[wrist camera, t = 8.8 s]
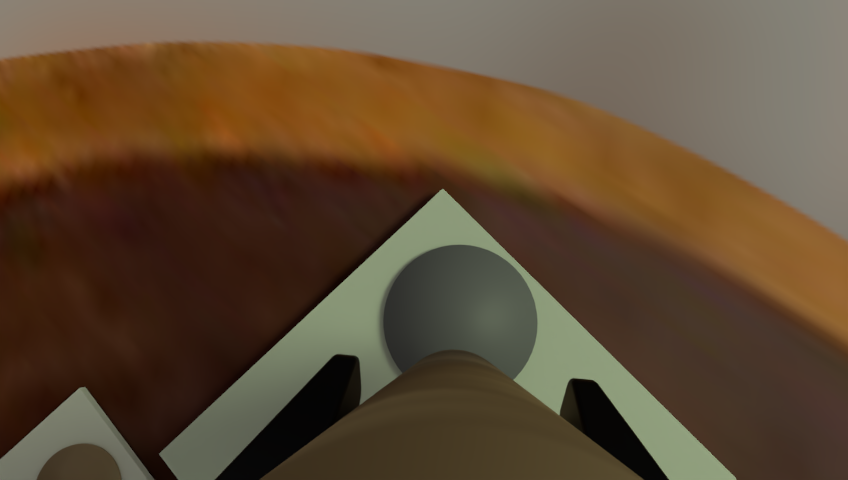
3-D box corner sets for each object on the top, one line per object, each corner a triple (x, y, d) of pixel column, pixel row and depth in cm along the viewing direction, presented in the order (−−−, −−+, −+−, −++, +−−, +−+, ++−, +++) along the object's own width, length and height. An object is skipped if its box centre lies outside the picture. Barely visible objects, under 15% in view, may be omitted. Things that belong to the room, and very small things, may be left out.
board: (430, 795, 16) (429, 819, 15) (168, 450, 18) (155, 455, 18) (726, 473, 17) (739, 480, 16) (443, 192, 20) (442, 187, 19)
